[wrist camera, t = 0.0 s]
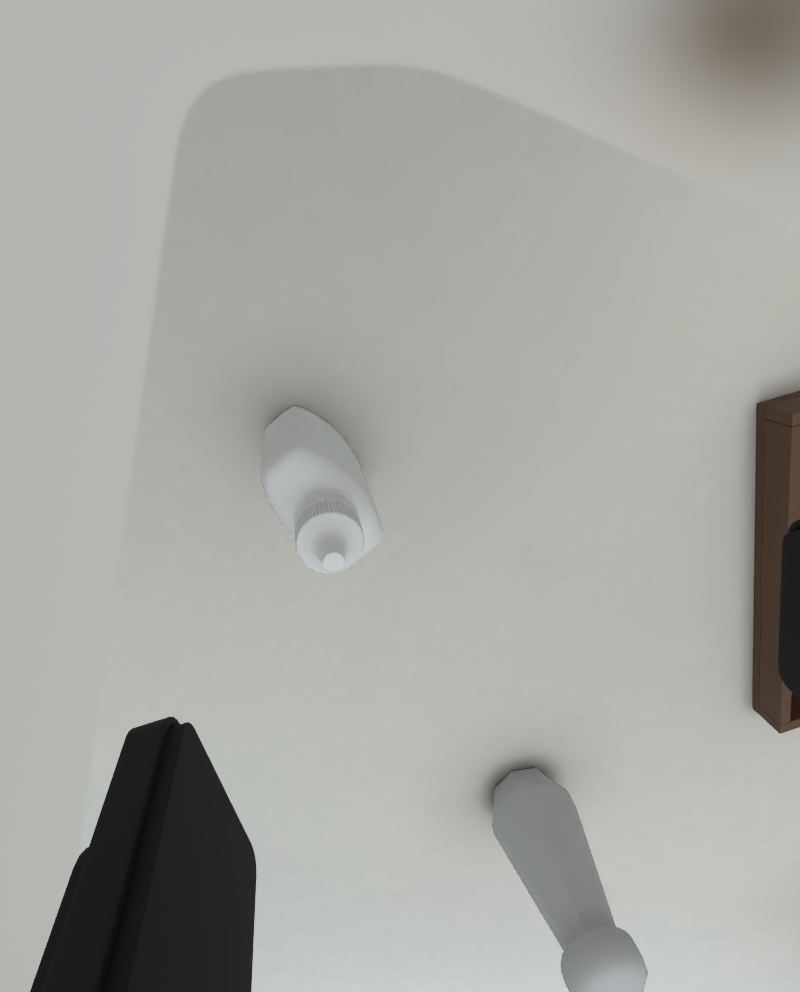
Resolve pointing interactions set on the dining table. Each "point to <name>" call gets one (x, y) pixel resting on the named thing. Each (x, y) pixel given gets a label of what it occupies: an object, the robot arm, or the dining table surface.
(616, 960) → the salt shaker
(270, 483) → the white plastic bottle
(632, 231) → the dining table surface
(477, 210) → the dining table surface
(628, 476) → the dining table surface
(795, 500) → the tray
